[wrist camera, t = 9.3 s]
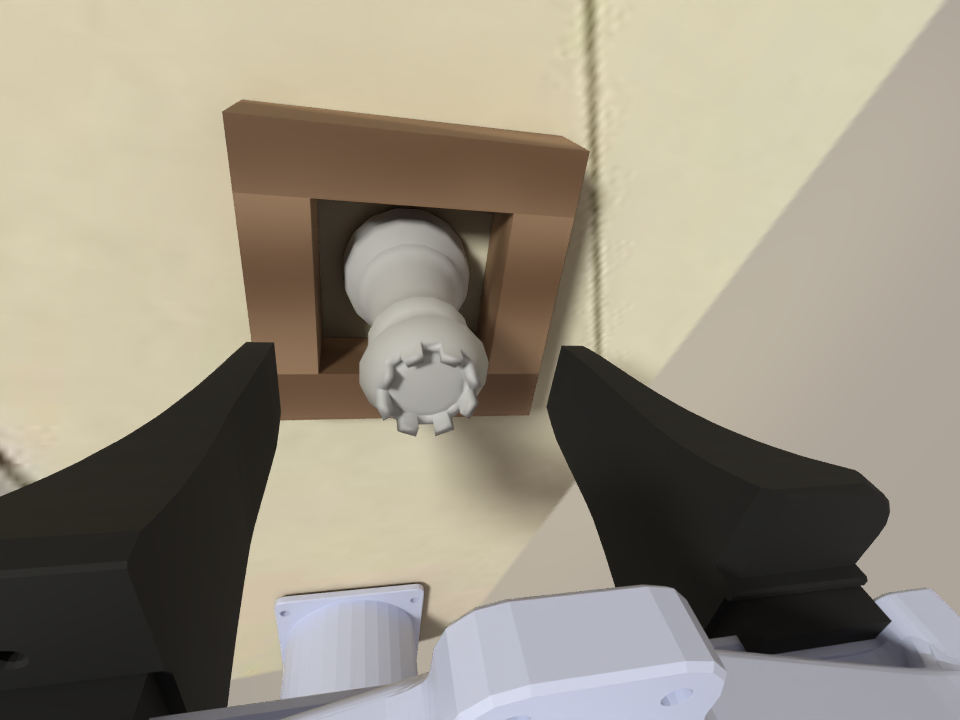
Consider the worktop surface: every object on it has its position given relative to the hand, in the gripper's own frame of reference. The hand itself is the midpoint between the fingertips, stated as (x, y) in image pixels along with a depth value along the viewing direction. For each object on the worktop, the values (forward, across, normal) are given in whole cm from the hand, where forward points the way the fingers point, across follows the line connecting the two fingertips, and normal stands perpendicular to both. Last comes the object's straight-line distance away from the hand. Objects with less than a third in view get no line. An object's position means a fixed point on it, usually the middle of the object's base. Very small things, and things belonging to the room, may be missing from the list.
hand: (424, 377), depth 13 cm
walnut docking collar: (+7, 0, 0) cm, 7 cm away
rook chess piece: (+7, 0, 0) cm, 7 cm away
